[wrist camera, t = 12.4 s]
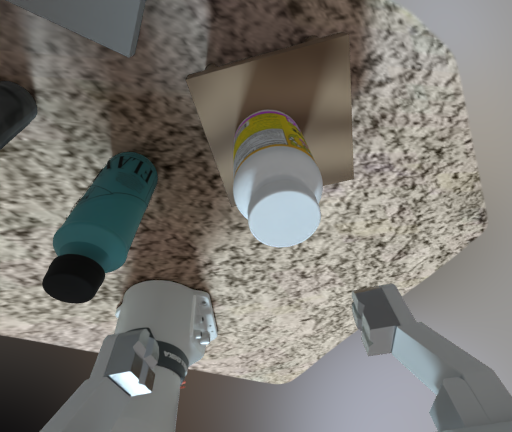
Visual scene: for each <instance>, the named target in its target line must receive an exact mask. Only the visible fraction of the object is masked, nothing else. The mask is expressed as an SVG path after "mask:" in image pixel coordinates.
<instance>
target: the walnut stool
mask: <svg viewBox="0 0 512 432" xmlns="http://www.w3.org/2000/svg"><path fill="white" fill-rule="evenodd" d="M186 82H187V85H188V88H189V91H190V93H191V96H192V99H193V102H194V104H195V107H196V110H197V113H198V115H199V118H200V121H201V124H202V126H203V129H204V132H205V135H206V137H207V140H208V143H209V146H210V149H211V151H212V154H213V157H214V160H215V162H216V165H217V168H218V171H219V173H220V176H221V179H222V182H223V184H224V187H225V190H226V193H227V196H228V198H229V201H230V204H231V207H234V206H237V205H236V203H235V200H234V194H233V153H234V137H235V134H236V131H237V129H238V127H239V125H240V124H241V123H242V121H243V120H244V119H246V118H247V117H248V116H250V115H251V114H253V113H255V112H258V111H261V110H277V111H280V112H283V113H285V114H286V115H288V116H289V117H291V118H292V119H293V120H294V121H295V123H296V124H297V126H298V127H299V129H300V131H301V133H302V135H303V137H304V139H305V141H306V143H307V146H308V148H309V150H310V152H311V154H312V156H313V158H314V160H315V162H316V164H317V166H318V168H319V171H320V173H321V176H322V181H323V186H325V185H330V184H334V183H338V182H343V181H347V180H351V179H354V171H353V140H352V108H351V77H350V45H349V34H347V33H344V32H340V33H337V34H333V35H329V36H326V37H322V38H318V37H317V36H310V37H308V38H307V39H306V40H305V42H304V43H301V44H297V45H294V46H290V47H286V48H283V49H279V50H276V51H272V52H269V53H265V54H261V55H258V56H254V57H251V58H247V59H244V60H240V61H236V62H233V63H229V64H226V65H222V66H218V65H216V64H210V65H208V66H207V67H206V69H205V70H204V71H201V72H197V73H193V74H190V75H188V76H187V78H186Z"/></svg>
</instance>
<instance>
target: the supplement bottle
mask: <svg viewBox="0 0 512 432" xmlns="http://www.w3.org/2000/svg"><path fill="white" fill-rule="evenodd" d="M322 190H323V181H322V176H321V173H320V171H319V168H318V166H317V164H316V162H315V160H314V158H313V156H312V154H311V152H310V150H309V148H308V146H307V143H306V141H305V139H304V137H303V135H302V133H301V131H300V129H299V127H298V126H297V124H296V123H295V121H294V120H293V119H292V118H291V117H289V116H288V115H286V114H285V113H283V112H280V111H277V110H261V111H258V112H255V113H253V114H251V115H250V116H248V117H247V118H246V119H244V120H243V121H242V123H241V124H240V125H239V127H238V129H237V131H236V134H235V137H234V153H233V194H234V200H235V203H236V205H237V207H238V209H239V211H240V212H241V213H242V215H243V216H244V217H245V218H246V219H248V223H249V228H250V230H251V232H252V234H253V235H254V237H255V238H256V239H258V240H259V241H260V242H262V243H264V244H266V245H269V246H273V247H289V246H293V245H296V244H298V243H301V242H303V241H304V240H306V239H308V238H309V237H310V236H311V235H312V234H313V233H314V232H315V231H316V229H317V227H318V225H319V223H320V218H321V212H320V208H319V205H318V203H319V201H320V199H321V195H322Z"/></svg>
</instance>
